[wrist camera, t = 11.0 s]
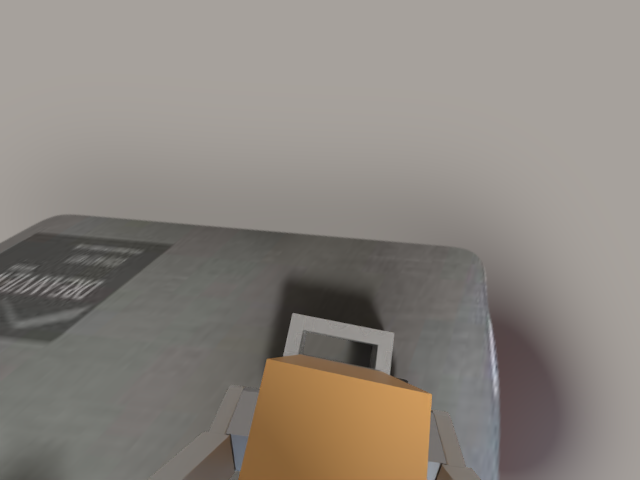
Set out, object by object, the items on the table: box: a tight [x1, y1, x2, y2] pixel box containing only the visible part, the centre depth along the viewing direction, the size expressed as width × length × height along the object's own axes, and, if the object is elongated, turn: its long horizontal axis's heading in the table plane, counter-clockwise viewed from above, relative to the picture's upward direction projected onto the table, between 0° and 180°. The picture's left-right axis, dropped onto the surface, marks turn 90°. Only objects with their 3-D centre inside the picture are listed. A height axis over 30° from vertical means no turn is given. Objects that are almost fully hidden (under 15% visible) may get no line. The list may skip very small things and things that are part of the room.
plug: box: [238, 354, 432, 480], centre depth 11 cm, size 4×4×9 cm
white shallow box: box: [283, 313, 408, 383], centre depth 28 cm, size 12×10×4 cm
